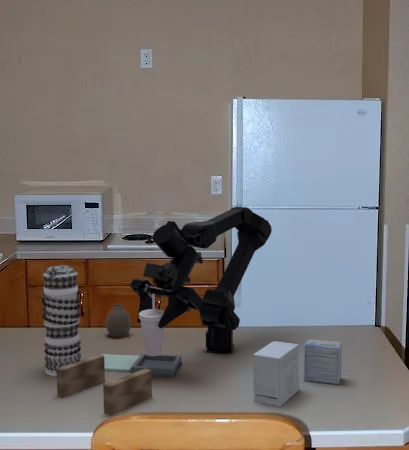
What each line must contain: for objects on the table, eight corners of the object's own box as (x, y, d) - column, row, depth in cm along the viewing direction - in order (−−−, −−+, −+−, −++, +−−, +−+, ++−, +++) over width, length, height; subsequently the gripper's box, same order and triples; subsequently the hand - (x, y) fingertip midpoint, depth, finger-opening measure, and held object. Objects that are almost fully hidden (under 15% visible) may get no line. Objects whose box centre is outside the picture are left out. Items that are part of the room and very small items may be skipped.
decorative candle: (57, 361, 161) (53, 262, 157) (90, 366, 157) (87, 264, 154) (35, 374, 152) (31, 269, 149) (70, 378, 149) (66, 272, 146)
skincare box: (272, 385, 145) (273, 339, 144) (299, 390, 142) (300, 344, 140) (251, 401, 136) (252, 353, 135) (280, 407, 133) (280, 358, 131)
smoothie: (172, 350, 151) (171, 292, 149) (158, 360, 146) (157, 300, 143) (148, 346, 154) (147, 289, 152) (134, 355, 148) (132, 296, 146)
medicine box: (341, 378, 149) (342, 342, 148) (338, 385, 145) (339, 347, 144) (307, 374, 151) (307, 338, 150) (303, 381, 147) (304, 344, 146)
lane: (99, 379, 148) (98, 354, 148) (152, 397, 138) (151, 370, 137) (57, 395, 139) (56, 368, 138) (110, 415, 129) (109, 386, 128)
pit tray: (181, 363, 159) (181, 355, 159) (173, 377, 149) (173, 369, 149) (142, 361, 161) (141, 353, 161) (131, 375, 151) (131, 367, 151)
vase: (133, 332, 185) (132, 302, 184) (128, 339, 179) (127, 308, 177) (109, 331, 186) (109, 301, 185) (103, 338, 179) (102, 307, 178)
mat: (140, 358, 163) (140, 355, 163) (129, 372, 153) (129, 369, 153) (102, 356, 165) (101, 354, 164) (88, 369, 155) (88, 367, 155)
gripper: (133, 245, 155) (101, 300, 148) (193, 253, 143) (160, 313, 137) (157, 270, 162) (127, 324, 155) (215, 280, 150) (186, 339, 144)
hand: (148, 325), depth 148 cm, fingers closed on smoothie, 6 cm apart
